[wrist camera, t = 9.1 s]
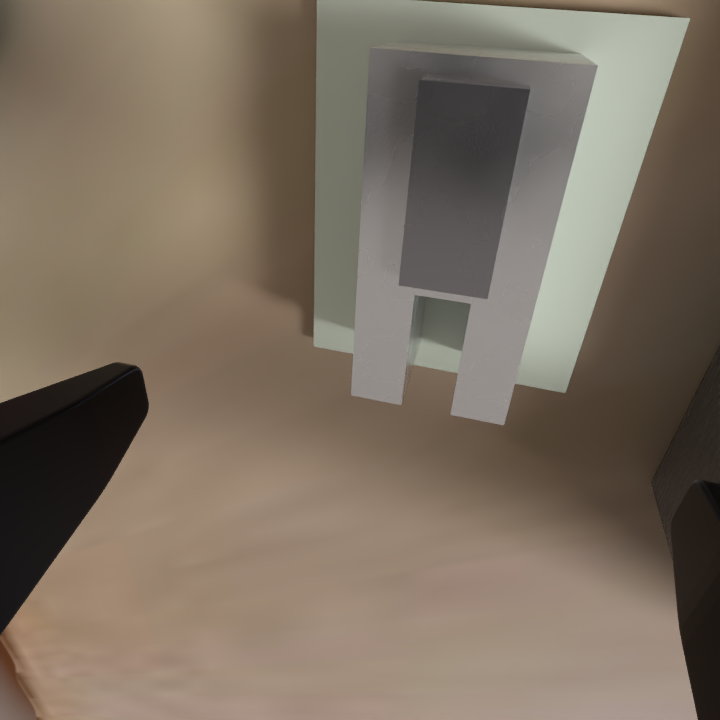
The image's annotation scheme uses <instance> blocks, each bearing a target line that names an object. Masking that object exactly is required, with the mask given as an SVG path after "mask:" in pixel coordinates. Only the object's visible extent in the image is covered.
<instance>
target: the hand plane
mask: <svg viewBox="0 0 720 720" xmlns="http://www.w3.org/2000/svg"><path fill="white" fill-rule="evenodd" d="M696 480H705V481H710V482H715V483H720V347H719V349H718V351H717V353H716V355H715V357H714V359H713V361H712V363H711V365H710V367H709V369H708V371H707V373H706V375H705V377H704V379H703V381H702V383H701V385H700V387H699V389H698V391H697V393H696V395H695V397H694V398H693V400H692V402H691V404H690V406H689V408H688V410H687V412H686V414H685V416H684V418H683V420H682V422H681V424H680V426H679V428H678V430H677V432H676V434H675V436H674V438H673V440H672V442H671V444H670V446H669V448H668V450H667V452H666V454H665V456H664V458H663V460H662V462H661V464H660V466H659V468H658V470H657V472H656V474H655V476H654V478H653V480H652V482H651V484H652V487H653V491H654V494H655V498H656V502H657V505H658V509H659V513H660V516H661V520H662V524H663V527H664V531H665V535H666V538H667V542H668V546H669V549H670V553H671V557H672V560H673V556H672V545H671V533H670V528H671V521H672V518H673V515H674V513H675V511H676V510H677V508H678V506H679V504H680V503H681V501H682V499H683V497H684V495H685V494H686V492H687V490H688V488H689V487H690V485H691V484H692V483H693V482H694V481H696Z"/></svg>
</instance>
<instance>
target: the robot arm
mask: <svg viewBox="0 0 720 720" xmlns="http://www.w3.org/2000/svg"><path fill="white" fill-rule="evenodd" d="M148 408H149V402H148V397H147V392H146V388H145V383H144V378H143V373H142V371H141V369H140V368H139V367H137V366H135V365H130V364H125V363H119V362H116V363H112V364H109V365H106V366H104V367H101V368H98V369H95V370H92V371H89V372H87V373H84V374H81V375H78V376H75V377H72V378H70V379H67V380H64V381H61V382H58V383H56V384H53V385H50V386H47V387H44V388H41V389H39V390H36V391H33V392H30V393H27V394H24V395H22V396H19V397H16V398H13V399H10V400H8V401H5V402H2V403H0V635H1V634H2V632H3V631H4V630H5V628H6V627H7V625H8V624H9V623H10V621H11V620H12V618H13V617H14V616H15V614H16V613H17V611H18V610H19V609H20V607H21V606H22V604H23V603H24V602H25V600H26V599H27V597H28V596H29V595H30V593H31V592H32V590H33V589H34V588H35V586H36V585H37V583H38V582H39V581H40V579H41V578H42V576H43V575H44V574H45V572H46V571H47V569H48V568H49V567H50V565H51V564H52V562H53V561H54V560H55V558H56V557H57V555H58V554H59V553H60V551H61V550H62V548H63V547H64V546H65V544H66V543H67V541H68V540H69V539H70V537H71V536H72V534H73V533H74V531H75V530H76V529H77V527H78V526H79V524H80V523H81V522H82V520H83V519H84V517H85V516H86V515H87V513H88V512H89V510H90V509H91V508H92V506H93V505H94V503H95V502H96V501H97V499H98V498H99V496H100V495H101V493H102V492H103V490H104V489H105V487H106V486H107V484H108V482H109V481H110V479H111V478H112V476H113V474H114V472H115V471H116V469H117V467H118V465H119V464H120V462H121V460H122V458H123V457H124V455H125V453H126V451H127V450H128V448H129V446H130V444H131V443H132V441H133V439H134V437H135V435H136V434H137V432H138V430H139V428H140V427H141V425H142V423H143V421H144V420H145V418H146V416H147V413H148ZM670 533H671V545H672V556H673V567H674V579H675V590H676V601H677V612H678V621H679V629H680V635H681V640H682V646H683V651H684V655H685V660H686V665H687V670H688V674H689V679H690V684H691V689H692V693H693V698H694V703H695V708H696V712H697V717H698V720H720V483H715V482H710V481H705V480H696V481H694V482H693V483H692V484H691V485H690V487H689V488H688V490H687V492H686V494H685V495H684V497H683V499H682V501H681V503H680V504H679V506H678V508H677V510H676V511H675V513H674V515H673V518H672V521H671V528H670Z"/></svg>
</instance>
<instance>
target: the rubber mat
mask: <svg viewBox="0 0 720 720" xmlns="http://www.w3.org/2000/svg"><path fill="white" fill-rule="evenodd" d="M689 21H690V18H678V17H663V16H648V15H632V14H617V13H602V12H586V11H571V10H555V9H540V8H525V7H509V6H494V5H479V4H463V3H448V2H432V1H417V0H317V38H316V144H315V250H314V347H319V348H325V349H330V350H335V351H341V352H346V353H352V354H353V348H354V330H355V311H356V293H357V274H358V256H359V237H360V219H361V200H362V182H363V163H364V145H365V126H366V108H367V89H368V71H369V52H370V48H371V47H375V46H380V45H384V44H388V43H393V42H397V41H401V40H403V41H416V42H429V43H443V44H456V45H470V46H483V47H496V48H510V49H523V50H537V51H550V52H563V53H577V54H582V55H584V56H585V57H587V58H588V59H589V60H591V61H592V62H594V63H595V64H597V65H598V68H597V71H596V75H595V79H594V83H593V87H592V91H591V94H590V98H589V102H588V106H587V110H586V114H585V117H584V121H583V125H582V129H581V133H580V137H579V140H578V144H577V148H576V152H575V156H574V160H573V163H572V167H571V171H570V175H569V179H568V183H567V186H566V190H565V194H564V198H563V202H562V206H561V209H560V213H559V217H558V221H557V225H556V229H555V232H554V236H553V240H552V244H551V248H550V252H549V255H548V259H547V263H546V267H545V271H544V275H543V278H542V282H541V286H540V290H539V294H538V297H537V301H536V305H535V309H534V313H533V317H532V320H531V324H530V328H529V332H528V336H527V340H526V343H525V347H524V351H523V355H522V359H521V363H520V366H519V370H518V374H517V378H516V382H515V384H519V385H524V386H530V387H535V388H541V389H546V390H551V391H557V392H562V393H566V390H567V387H568V384H569V381H570V378H571V375H572V372H573V369H574V366H575V363H576V360H577V357H578V354H579V351H580V348H581V345H582V342H583V339H584V336H585V333H586V330H587V327H588V324H589V321H590V318H591V315H592V312H593V309H594V306H595V303H596V300H597V297H598V294H599V291H600V288H601V285H602V282H603V279H604V276H605V273H606V270H607V267H608V264H609V261H610V258H611V255H612V252H613V249H614V246H615V243H616V240H617V237H618V234H619V231H620V228H621V225H622V222H623V219H624V216H625V213H626V210H627V207H628V204H629V201H630V198H631V195H632V192H633V189H634V186H635V183H636V180H637V177H638V174H639V171H640V168H641V165H642V162H643V159H644V156H645V153H646V150H647V147H648V144H649V141H650V138H651V135H652V132H653V129H654V126H655V123H656V120H657V117H658V114H659V111H660V108H661V105H662V102H663V99H664V96H665V93H666V90H667V87H668V84H669V81H670V78H671V75H672V72H673V69H674V66H675V63H676V60H677V57H678V54H679V51H680V48H681V45H682V42H683V39H684V36H685V33H686V30H687V27H688V24H689ZM469 309H470V304H469V303H463V302H456V301H450V300H444V299H438V298H431V297H426V305H425V312H424V320H423V327H422V334H421V342H420V346H419V349H418V353H417V356H416V359H415V362H414V365H416V366H422V367H427V368H433V369H438V370H443V371H449V372H454V373H458V369H459V363H460V358H461V352H462V347H463V341H464V336H465V331H466V325H467V320H468V315H469Z"/></svg>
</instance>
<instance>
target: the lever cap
mask: <svg viewBox="0 0 720 720" xmlns="http://www.w3.org/2000/svg"><path fill="white" fill-rule="evenodd" d="M597 68H598V65H597V64H595V63H594V62H592V61H591V60H589V59H588V58H587V57H585V56H584V55H582V54H577V53H563V52H550V51H537V50H523V49H510V48H496V47H483V46H470V45H456V44H443V43H429V42H416V41H403V40H401V41H397V42H393V43H388V44H384V45H380V46H375V47H371V48H370V52H369V71H368V89H367V108H366V126H365V145H364V163H363V182H362V200H361V219H360V237H359V256H358V274H357V293H356V311H355V330H354V348H353V367H352V385H351V395H352V396H357V397H362V398H367V399H372V400H377V401H382V402H388V403H393V404H398V405H402V401H403V398H404V395H405V392H406V388H407V385H408V382H409V379H410V375H411V372H412V369H413V366H414V362H415V359H416V356H417V353H418V349H419V346H420V342H421V334H422V327H423V320H424V312H425V305H426V297H431V298H438V299H444V300H450V301H456V302H463V303H469V304H470V309H469V315H468V320H467V325H466V331H465V336H464V341H463V347H462V352H461V358H460V363H459V369H458V375H457V380H456V386H455V391H454V397H453V402H452V408H451V414H450V415H454V416H459V417H464V418H469V419H474V420H479V421H484V422H489V423H494V424H500V425H504V424H505V420H506V416H507V412H508V409H509V405H510V401H511V397H512V393H513V389H514V386H515V382H516V378H517V374H518V370H519V366H520V363H521V359H522V355H523V351H524V347H525V343H526V340H527V336H528V332H529V328H530V324H531V320H532V317H533V313H534V309H535V305H536V301H537V297H538V294H539V290H540V286H541V282H542V278H543V275H544V271H545V267H546V263H547V259H548V255H549V252H550V248H551V244H552V240H553V236H554V232H555V229H556V225H557V221H558V217H559V213H560V209H561V206H562V202H563V198H564V194H565V190H566V186H567V183H568V179H569V175H570V171H571V167H572V163H573V160H574V156H575V152H576V148H577V144H578V140H579V137H580V133H581V129H582V125H583V121H584V117H585V114H586V110H587V106H588V102H589V98H590V94H591V91H592V87H593V83H594V79H595V75H596V71H597Z"/></svg>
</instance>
